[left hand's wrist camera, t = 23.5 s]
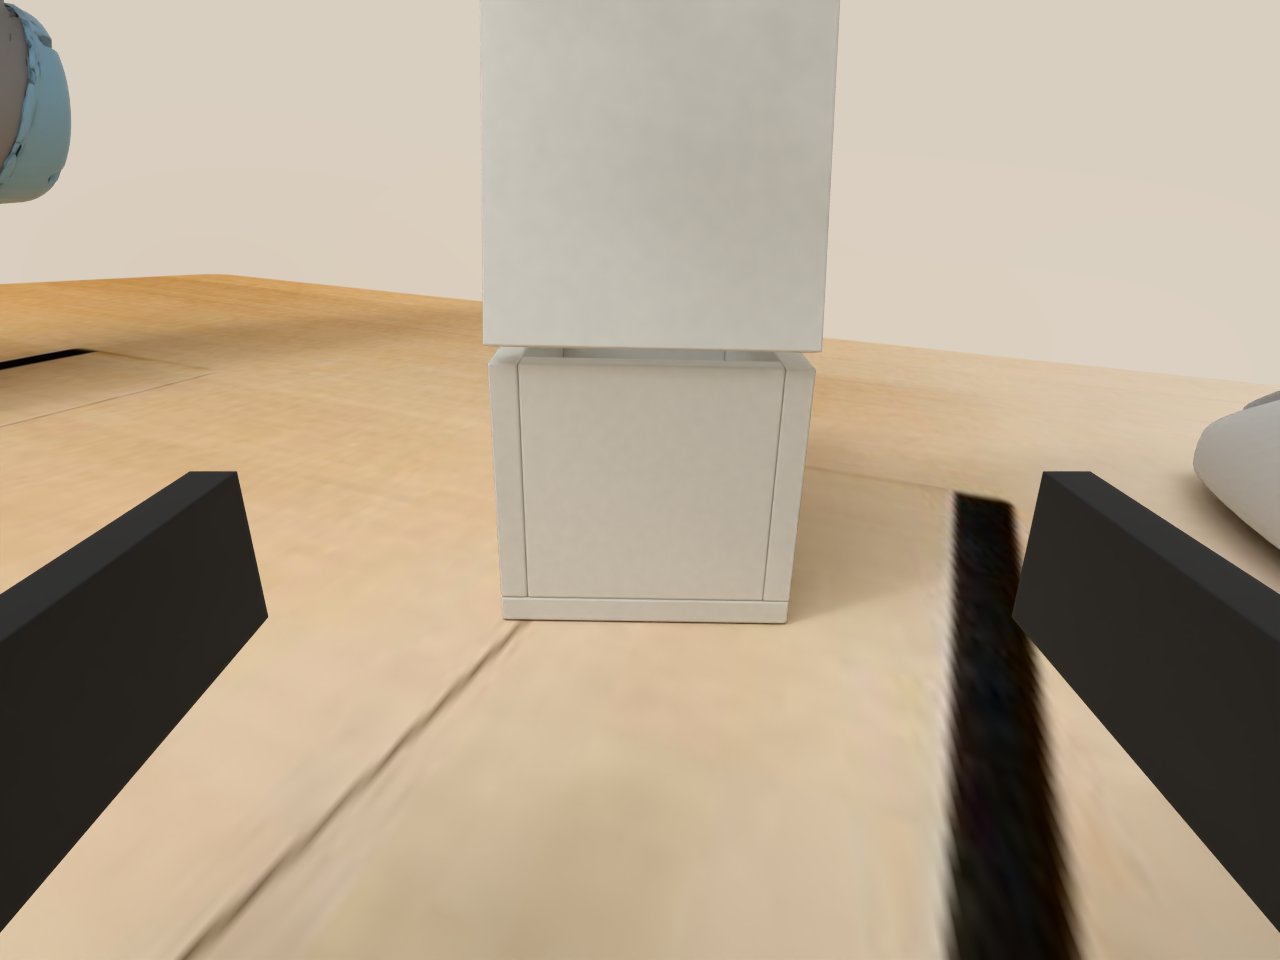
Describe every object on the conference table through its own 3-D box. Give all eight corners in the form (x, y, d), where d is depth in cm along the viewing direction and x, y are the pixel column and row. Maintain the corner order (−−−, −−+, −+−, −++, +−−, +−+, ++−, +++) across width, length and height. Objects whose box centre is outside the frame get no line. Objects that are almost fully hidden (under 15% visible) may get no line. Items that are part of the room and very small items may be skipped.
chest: (549, 456, 38) (545, 284, 35) (733, 459, 39) (746, 288, 35) (501, 620, 25) (486, 362, 21) (786, 624, 25) (816, 369, 21)
